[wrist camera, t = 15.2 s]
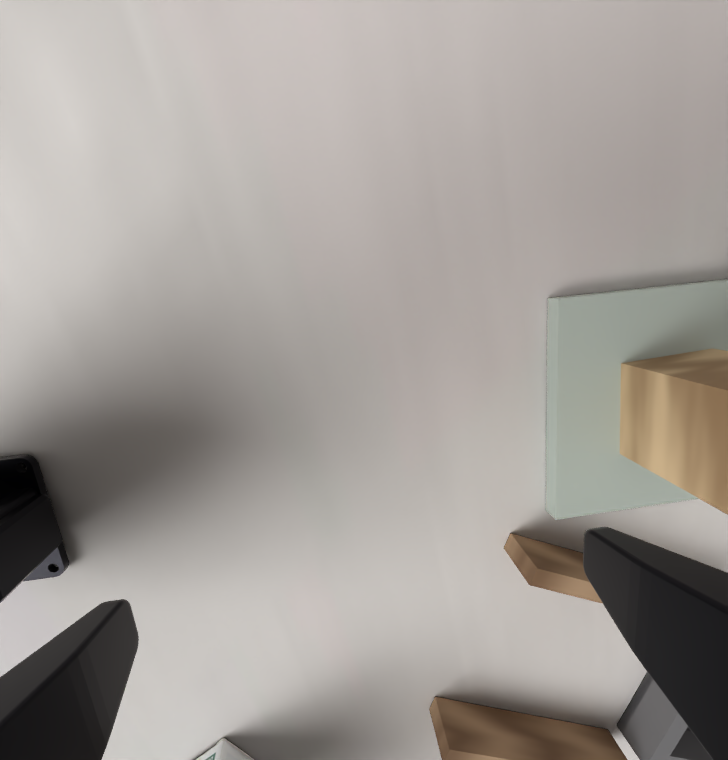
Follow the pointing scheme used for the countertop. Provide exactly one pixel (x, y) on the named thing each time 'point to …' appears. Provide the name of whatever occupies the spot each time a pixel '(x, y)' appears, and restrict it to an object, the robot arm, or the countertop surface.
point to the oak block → (679, 420)
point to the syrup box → (225, 752)
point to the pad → (614, 387)
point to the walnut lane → (517, 730)
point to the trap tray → (658, 727)
